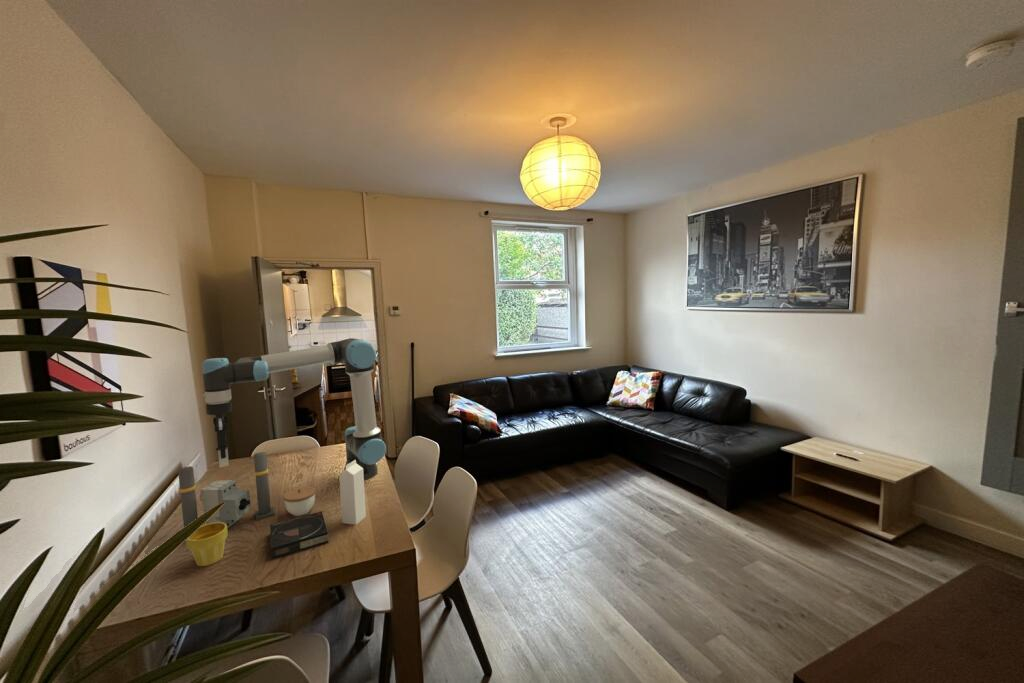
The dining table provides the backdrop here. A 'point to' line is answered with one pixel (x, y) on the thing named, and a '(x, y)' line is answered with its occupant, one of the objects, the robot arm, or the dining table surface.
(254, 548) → the dining table surface
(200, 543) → the plant pot
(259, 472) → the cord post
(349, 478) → the milk
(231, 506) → the circuit breaker
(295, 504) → the lidded jar
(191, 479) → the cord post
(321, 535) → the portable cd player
